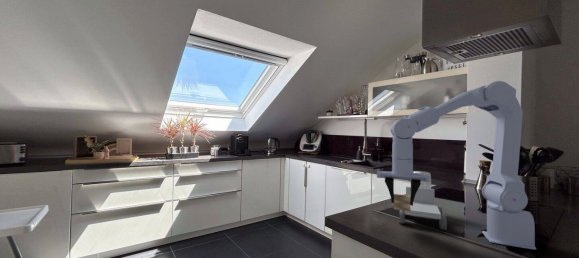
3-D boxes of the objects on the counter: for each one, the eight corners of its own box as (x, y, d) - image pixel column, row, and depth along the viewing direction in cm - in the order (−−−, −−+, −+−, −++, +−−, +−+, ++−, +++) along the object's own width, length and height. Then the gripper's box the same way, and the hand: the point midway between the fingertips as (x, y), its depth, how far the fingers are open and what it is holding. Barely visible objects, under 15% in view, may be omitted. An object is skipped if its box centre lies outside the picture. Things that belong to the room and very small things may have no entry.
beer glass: (415, 207, 98) (415, 170, 98) (434, 212, 93) (434, 172, 93) (407, 211, 94) (407, 171, 94) (426, 215, 88) (426, 174, 88)
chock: (410, 207, 77) (409, 194, 77) (410, 211, 72) (410, 197, 72) (394, 205, 79) (394, 192, 79) (393, 209, 74) (393, 195, 74)
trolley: (440, 218, 85) (440, 189, 85) (446, 232, 73) (447, 198, 73) (399, 213, 91) (400, 185, 91) (399, 224, 79) (399, 193, 79)
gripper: (428, 159, 75) (428, 203, 75) (378, 156, 81) (378, 197, 81) (430, 161, 69) (430, 209, 68) (376, 158, 75) (375, 202, 74)
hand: (402, 203), depth 74 cm, fingers closed on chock, 4 cm apart
